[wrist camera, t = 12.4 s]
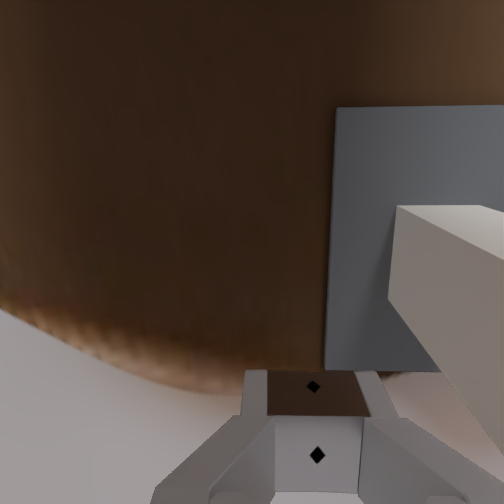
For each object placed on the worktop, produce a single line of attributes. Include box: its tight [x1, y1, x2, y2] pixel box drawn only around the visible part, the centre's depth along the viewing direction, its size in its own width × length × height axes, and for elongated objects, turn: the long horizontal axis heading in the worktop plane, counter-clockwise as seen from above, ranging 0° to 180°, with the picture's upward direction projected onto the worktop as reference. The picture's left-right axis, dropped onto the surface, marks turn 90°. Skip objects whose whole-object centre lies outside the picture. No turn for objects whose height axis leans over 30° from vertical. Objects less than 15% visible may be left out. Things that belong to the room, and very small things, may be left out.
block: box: [388, 205, 504, 456], centre depth 14 cm, size 4×5×12 cm
